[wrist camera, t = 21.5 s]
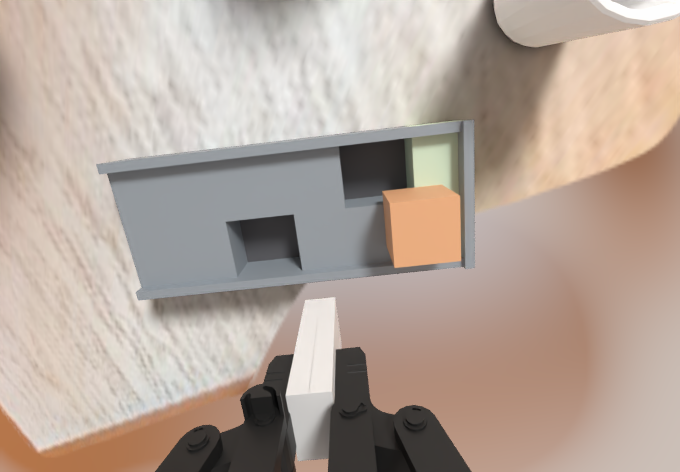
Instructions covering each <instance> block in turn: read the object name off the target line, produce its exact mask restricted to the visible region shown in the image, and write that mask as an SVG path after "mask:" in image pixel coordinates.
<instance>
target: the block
mask: <svg viewBox="0 0 680 472" xmlns="http://www.w3.org/2000/svg"><path fill="white" fill-rule="evenodd" d="M382 195H383V207H384V220H385V233H386V245H387V249H388V252H389V254H390V257H391V260H392V262H393V265H394V268H399V267H409V266H419V265H428V264H438V263H448V262H457V261H461V218H460V195H458V194H457V193H455V192H453V191H452V190H450V189H448V188H447V187H445V186H443V185H442V184H441V185H432V186H423V187H414V188H405V189H396V190H387V191H382Z"/></svg>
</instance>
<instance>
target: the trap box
mask: <svg viewBox="0 0 680 472" xmlns="http://www.w3.org/2000/svg"><path fill="white" fill-rule="evenodd" d="M96 165H97V169H98V172H99V174H106V173H107V175H108V178H109V181H110V185H111V188H112V191H113V194H114V198H115V201H116V204H117V208H118V211H119V214H120V217H121V221H122V224H123V227H124V231H125V234H126V237H127V241H128V244H129V247H130V250H131V254H132V257H133V260H134V264H135V267H136V270H137V273H138V277H139V280H140V283H141V287H142V288H141V289H139V290H138V291H137V292H136V294H137V298H138V300H147V299H157V298H166V297H176V296H186V295H195V294H205V293H215V292H224V291H234V290H244V289H253V288H263V287H273V286H282V285H292V284H302V283H311V282H320V281H330V280H340V279H350V278H358V277H359V278H360V277H369V276H379V275H388V274H398V273H408V272H417V271H427V270H437V269H446V268H455V267H464V268H465V269H469V268H475V222H474V221H475V195H474V120H453V121H445V122H436V123H428V124H419V125H411V126H402V127H394V128H386V129H377V130H369V131H360V132H352V133H343V134H335V135H327V136H318V137H310V138H301V139H293V140H284V141H276V142H268V143H259V144H251V145H242V146H234V147H225V148H217V149H209V150H200V151H192V152H183V153H175V154H166V155H158V156H150V157H141V158H133V159H126V160H120V161H114V162H108V163H101V164H96ZM441 184H442V185H443V186H445V187H447V188H448V189H450V190H452V191H453V192H455V193H457V194H458V195H460V218H461V261H457V262H448V263H438V264H428V265H419V266H409V267H399V268H394V265H393V262H392V260H391V257H390V254H389V252H388V249H387V245H386V233H385V220H384V207H383V195H382V191H387V190H396V189H405V188H414V187H423V186H432V185H441Z"/></svg>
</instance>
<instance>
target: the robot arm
mask: <svg viewBox="0 0 680 472" xmlns="http://www.w3.org/2000/svg"><path fill="white" fill-rule="evenodd" d="M240 401H241V405H242V409H243V414H244V417H245V421H244V424H242V425H240V426H238V427H236V428H233V429H231V430H228V431H225V432H222V433H220V432H219V430H218V429H217V428H216V427H215V426H212V425H202V426H199V427H196V428H194V429H192V430H190V431H189V432H187V433H186V434H185V435H184V436H183V437H182V438H181V439H180V440H179V442H178V443H177V444H176V445H175V447H174V448H173V449H172V450H171V452H170V453H169V455H168V456H167V457H166V458H165V460H164V461H163V462H162V463H161V465H160V466H159V467H158V469H157V470H156V471H155V472H296V469H295V464H294V461H295V454H296V453H297V458H298V461H304V460H317V459H328V458H329V460H328V472H471V471H470V469H469V467H468V466H467V464H466V463H465V462H464V460H463V458H462V456H461V455H460V454H459V452H458V450H457V449H456V447H455V446H454V444H453V443H452V441H451V440H450V438H449V437H448V435H447V434H446V432H445V430H444V429H443V427H442V426H441V424H440V423H439V421H438V420H437V418H436V417H435V415H434V414H433V413H432V412H431V411H430V410H428V409H426V408H424V407H422V406H416V405H412V406H406V407H404V408H401V409H400V410H399V411H398V412H397V413H396V414H395V415H393V414H388V413H384V412H382V411H380V410H378V409H377V408H375V407H374V406H373V404H372V403H371V401H370V394H369V385H368V376H367V366H366V357H365V353H364V352H363V351H362V350H361V349H360V347H355V348H345V349H342V344H341V338H340V330H339V322H338V314H337V306H336V298H335V297H331V298H321V299H310V300H305V304H304V308H303V313H302V318H301V323H300V328H299V333H298V337H297V343H296V347H295V352H294V354H291V355H281V356H276V357H275V358H274V359H273V360H272V362H271V363H270V364H269V366H268V370H267V372H266V376H265V379H264V383H263V384H259V385H256V386H254V387H252V388H250V389H248V390H247V391H246V392H245V393H244V394H243V395H242V397H241V399H240Z"/></svg>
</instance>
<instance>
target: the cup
mask: <svg viewBox="0 0 680 472" xmlns="http://www.w3.org/2000/svg"><path fill="white" fill-rule="evenodd" d="M493 7H494V11H495V15H496V19H497V22H498V25H499V26H500V27H501V29H502V30H503V32H504V33H505V35H506V36H507V37H508V39H510V40H511V41H512V42H514V43H516V44H521V45H524V46H530V47H541V46H546V45H552V44H557V43H562V42H567V41H572V40H577V39H582V38H587V37H592V36H597V35H602V34H607V33H613V32H618V31H623V30H628V29H633V28H638V27H643V26H648V25H652V24H656V23H660V22H664V21H669V20H672V19H675V18H677V17H679V16H680V0H493Z"/></svg>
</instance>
